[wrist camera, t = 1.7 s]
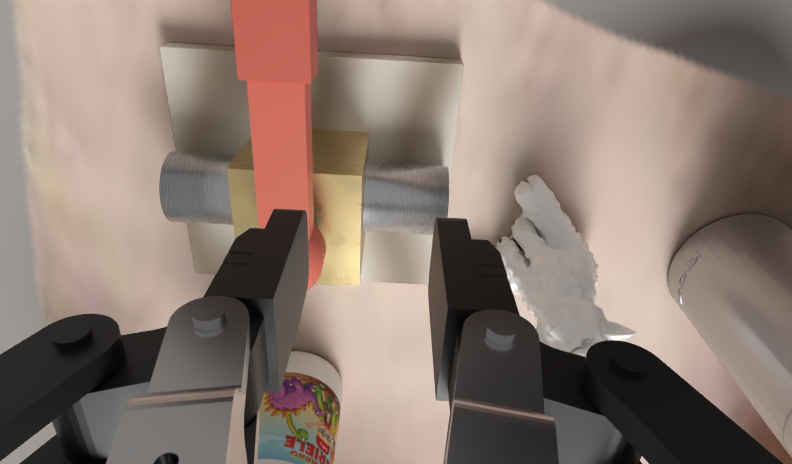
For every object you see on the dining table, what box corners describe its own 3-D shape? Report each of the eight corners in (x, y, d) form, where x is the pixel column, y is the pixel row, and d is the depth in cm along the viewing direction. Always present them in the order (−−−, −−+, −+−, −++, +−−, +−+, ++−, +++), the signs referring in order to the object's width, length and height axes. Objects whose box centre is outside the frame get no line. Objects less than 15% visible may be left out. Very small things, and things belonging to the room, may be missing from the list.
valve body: (447, 136, 34) (457, 181, 28) (437, 232, 37) (444, 290, 31) (179, 121, 34) (129, 163, 27) (193, 219, 37) (152, 276, 31)
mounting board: (461, 59, 33) (463, 64, 32) (437, 273, 41) (438, 285, 39) (169, 42, 33) (159, 46, 31) (201, 261, 40) (195, 272, 39)
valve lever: (329, 263, 30) (322, 297, 27) (265, 259, 30) (251, 293, 27) (326, -29, 23) (316, -23, 20) (242, -34, 23) (219, -29, 20)
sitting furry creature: (527, 165, 36) (578, 259, 26) (622, 222, 39) (705, 329, 28) (451, 265, 40) (468, 380, 30) (541, 311, 43) (586, 434, 32)
